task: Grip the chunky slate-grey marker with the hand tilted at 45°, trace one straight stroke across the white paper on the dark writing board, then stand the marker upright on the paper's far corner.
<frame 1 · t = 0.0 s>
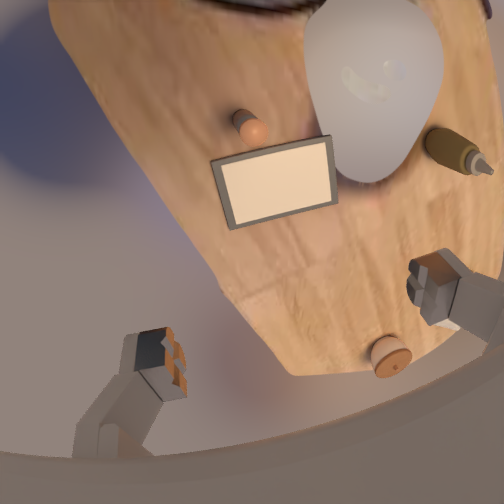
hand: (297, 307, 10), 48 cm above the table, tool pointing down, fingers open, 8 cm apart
lidded bowl: (382, 343, 93), on the table
marker: (242, 118, 52), on the table
writing board: (278, 181, 59), on the table
squeeze bottle: (434, 141, 59), on the table
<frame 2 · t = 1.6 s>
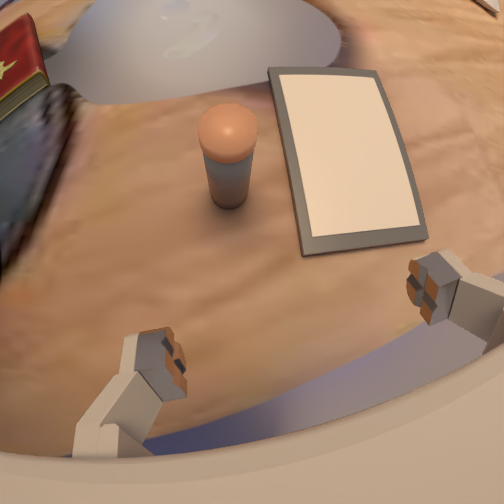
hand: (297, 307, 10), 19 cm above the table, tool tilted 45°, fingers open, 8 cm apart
hardcover book: (12, 72, 34), on the table
marker: (229, 192, 31), on the table
writing board: (346, 148, 33), on the table
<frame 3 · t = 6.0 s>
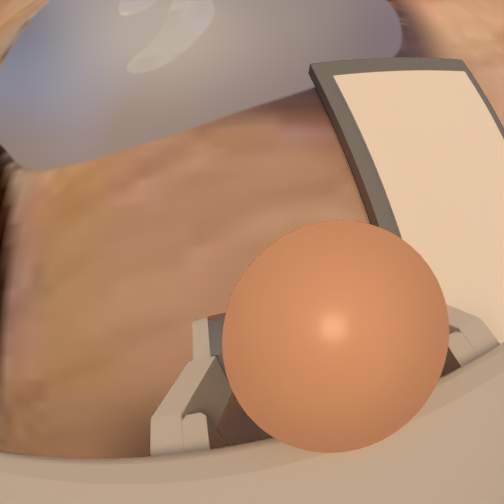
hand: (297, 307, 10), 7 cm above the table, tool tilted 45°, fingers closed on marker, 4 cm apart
marker: (287, 322, 16), on the table, touching gripper
writing board: (460, 197, 17), on the table
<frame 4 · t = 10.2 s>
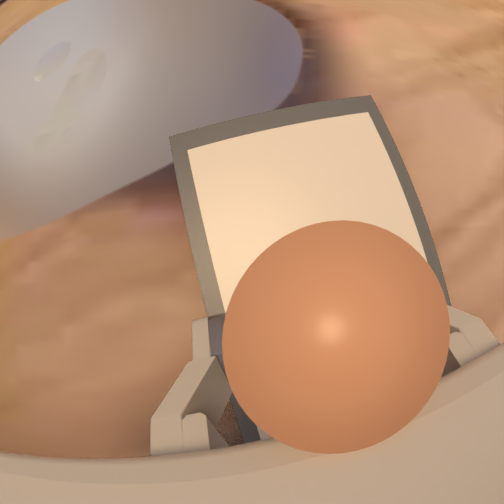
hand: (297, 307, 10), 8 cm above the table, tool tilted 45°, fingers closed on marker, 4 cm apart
marker: (287, 322, 16), point 2 cm above the table, touching gripper
writing board: (327, 278, 18), on the table
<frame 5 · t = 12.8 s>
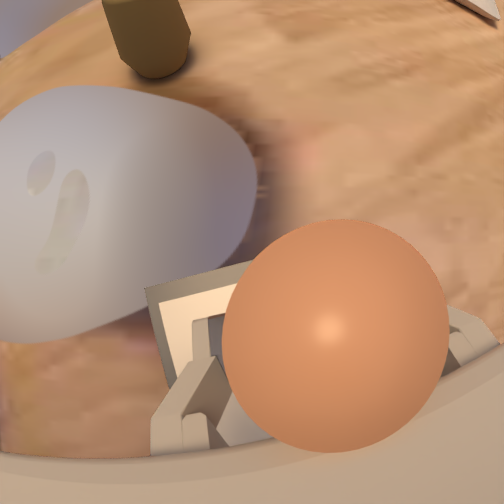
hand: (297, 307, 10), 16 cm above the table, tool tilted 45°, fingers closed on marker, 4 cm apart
marker: (287, 321, 16), point 10 cm above the table, touching gripper
writing board: (260, 396, 25), on the table
squeeze bottle: (162, 62, 32), on the table
when the fingers open (9 cm above the table, at t = 14.9 s): marker drops 1 cm, resting on writing board.
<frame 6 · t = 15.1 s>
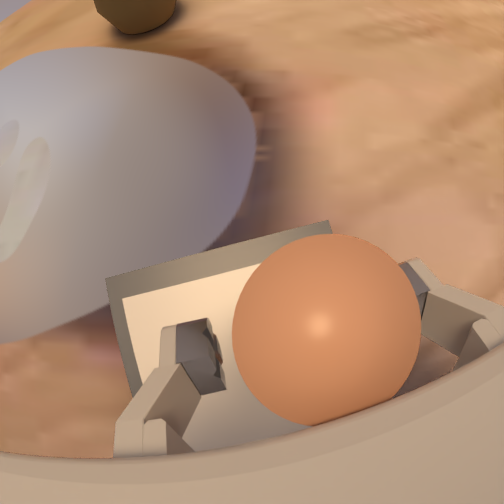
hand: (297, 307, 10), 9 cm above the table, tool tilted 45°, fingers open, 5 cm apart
marker: (284, 321, 18), point 1 cm above the table, touching writing board
writing board: (260, 425, 18), on the table
squeeze bottle: (146, 19, 25), on the table
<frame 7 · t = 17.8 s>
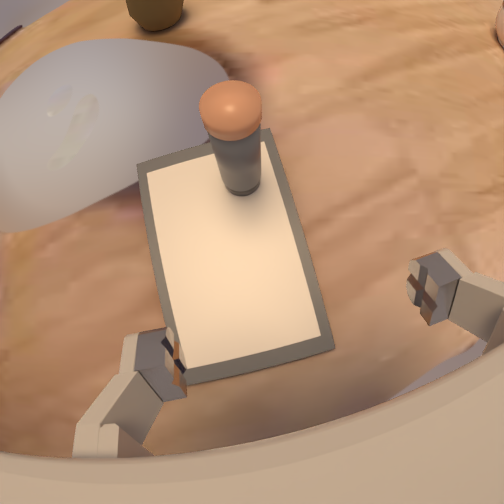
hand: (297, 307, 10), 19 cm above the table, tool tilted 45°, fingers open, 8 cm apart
marker: (242, 179, 30), point 1 cm above the table, touching writing board
writing board: (227, 251, 30), on the table
squeeze bottle: (161, 21, 37), on the table
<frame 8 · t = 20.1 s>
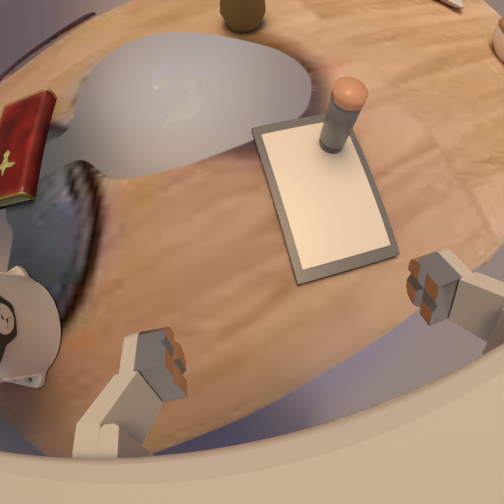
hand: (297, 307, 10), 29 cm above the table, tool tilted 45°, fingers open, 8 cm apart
hardcover book: (23, 153, 46), on the table
marker: (331, 142, 42), point 1 cm above the table, touching writing board
writing board: (324, 189, 42), on the table
squeeze bottle: (243, 24, 49), on the table
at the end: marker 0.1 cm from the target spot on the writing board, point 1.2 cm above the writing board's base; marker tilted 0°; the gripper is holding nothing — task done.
